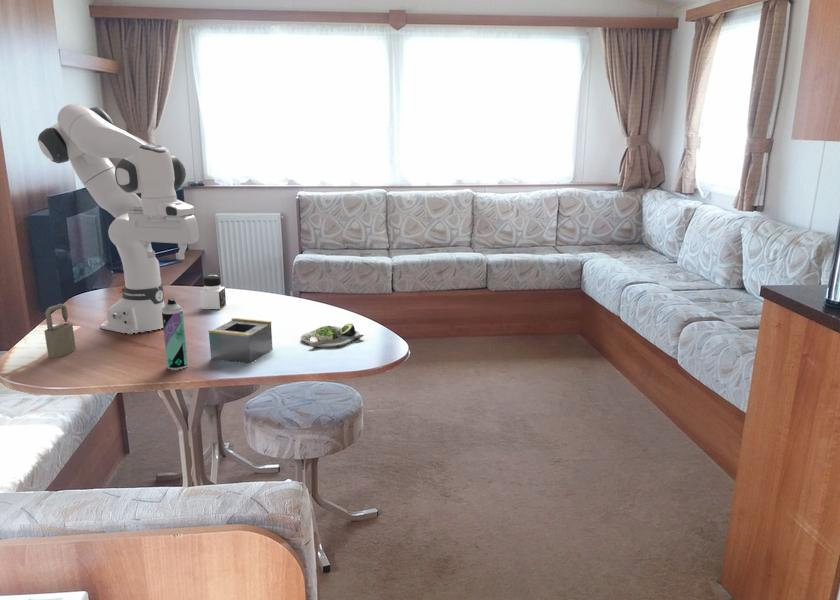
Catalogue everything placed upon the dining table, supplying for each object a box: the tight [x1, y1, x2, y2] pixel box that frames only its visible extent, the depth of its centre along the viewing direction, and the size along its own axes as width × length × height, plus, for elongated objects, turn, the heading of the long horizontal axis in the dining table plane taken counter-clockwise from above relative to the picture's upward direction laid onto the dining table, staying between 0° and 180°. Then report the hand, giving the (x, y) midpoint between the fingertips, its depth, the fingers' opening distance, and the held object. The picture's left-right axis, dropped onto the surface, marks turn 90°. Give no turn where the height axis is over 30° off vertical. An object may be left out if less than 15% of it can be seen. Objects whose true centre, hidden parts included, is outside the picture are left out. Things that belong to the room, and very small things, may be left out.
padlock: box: [44, 303, 77, 359], centre depth 198 cm, size 4×8×15 cm, turn 163°
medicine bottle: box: [199, 274, 227, 311], centre depth 247 cm, size 7×7×12 cm
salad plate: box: [300, 323, 365, 348], centre depth 211 cm, size 19×18×5 cm
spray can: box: [162, 298, 189, 371], centre depth 187 cm, size 6×6×20 cm
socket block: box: [207, 317, 273, 365], centre depth 198 cm, size 13×13×9 cm
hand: (165, 258), depth 181 cm, fingers open, 8 cm apart
